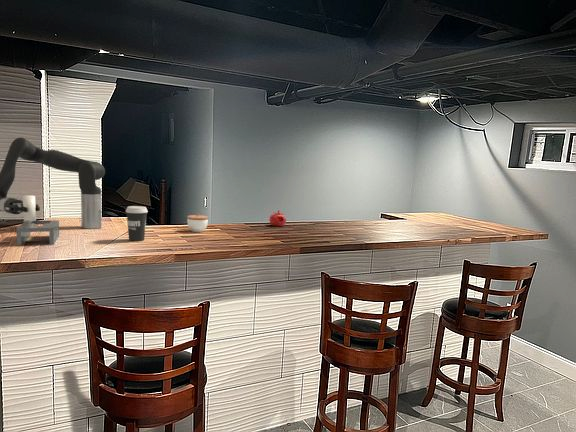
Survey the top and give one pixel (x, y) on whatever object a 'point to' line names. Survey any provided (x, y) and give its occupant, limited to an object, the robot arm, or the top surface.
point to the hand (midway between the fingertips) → (32, 209)
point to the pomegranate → (277, 219)
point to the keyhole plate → (38, 230)
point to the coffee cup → (136, 222)
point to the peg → (29, 208)
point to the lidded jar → (197, 222)
